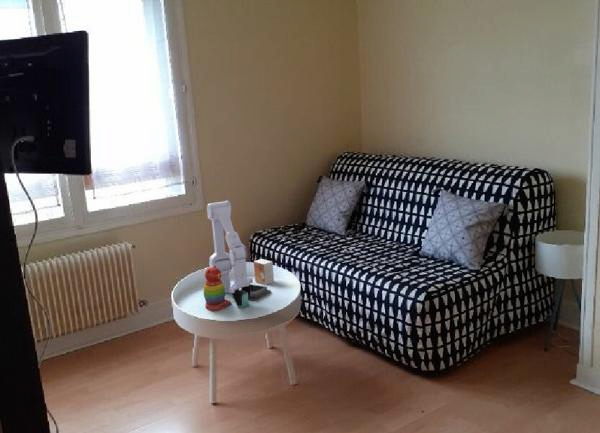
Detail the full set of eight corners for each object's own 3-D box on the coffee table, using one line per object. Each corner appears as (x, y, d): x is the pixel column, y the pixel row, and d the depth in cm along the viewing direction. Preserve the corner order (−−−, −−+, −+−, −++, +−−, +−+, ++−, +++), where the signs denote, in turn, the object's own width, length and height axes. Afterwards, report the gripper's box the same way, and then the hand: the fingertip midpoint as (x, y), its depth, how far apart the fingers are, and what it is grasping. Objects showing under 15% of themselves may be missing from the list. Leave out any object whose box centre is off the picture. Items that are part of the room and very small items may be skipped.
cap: (235, 307, 263) (233, 293, 262) (241, 303, 267) (240, 289, 266) (244, 309, 260) (243, 295, 259) (251, 305, 265) (249, 291, 263)
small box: (255, 281, 294) (253, 261, 292) (263, 278, 298) (262, 258, 296) (265, 285, 289) (263, 264, 286) (274, 282, 292) (272, 261, 290)
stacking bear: (217, 312, 259) (213, 272, 255) (199, 308, 264) (195, 270, 260) (233, 303, 268) (229, 265, 264) (215, 300, 273) (211, 262, 269)
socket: (234, 297, 275) (233, 291, 274) (249, 289, 285) (249, 283, 284) (256, 301, 269) (255, 294, 268) (271, 292, 278) (270, 286, 278)
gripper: (237, 279, 252) (240, 310, 255) (257, 269, 264) (259, 298, 267) (224, 278, 256) (227, 308, 259) (244, 267, 268) (246, 296, 271)
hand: (242, 303), depth 263 cm, fingers closed on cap, 5 cm apart
